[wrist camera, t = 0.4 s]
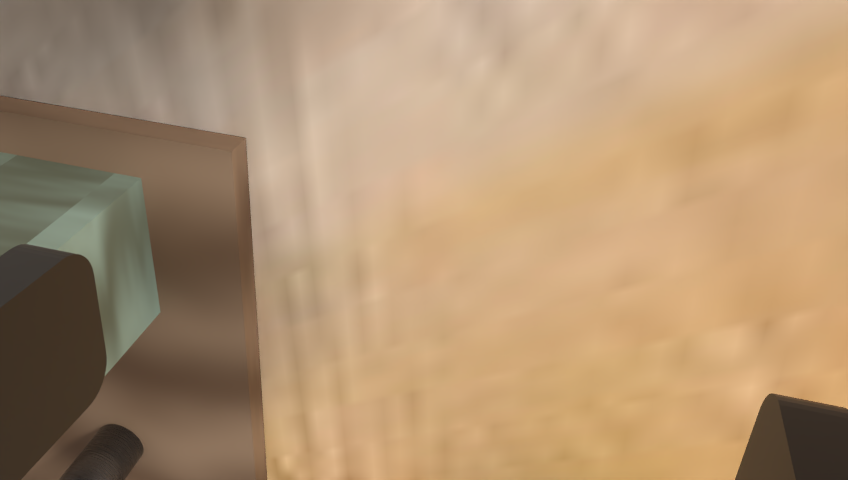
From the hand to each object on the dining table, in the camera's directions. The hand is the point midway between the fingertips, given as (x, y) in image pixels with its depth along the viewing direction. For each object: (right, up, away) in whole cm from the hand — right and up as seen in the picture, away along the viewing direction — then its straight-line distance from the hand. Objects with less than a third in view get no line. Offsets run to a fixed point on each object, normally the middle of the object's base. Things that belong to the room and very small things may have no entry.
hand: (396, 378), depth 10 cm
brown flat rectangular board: (-14, -3, +27) cm, 31 cm away
